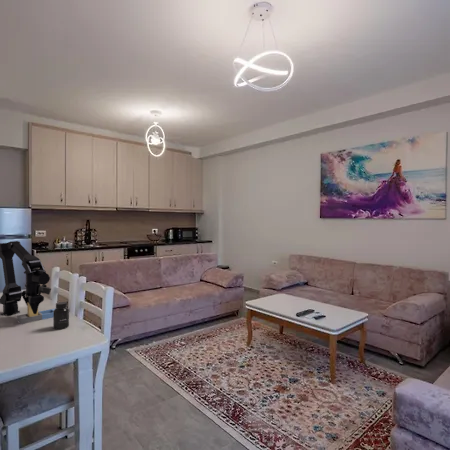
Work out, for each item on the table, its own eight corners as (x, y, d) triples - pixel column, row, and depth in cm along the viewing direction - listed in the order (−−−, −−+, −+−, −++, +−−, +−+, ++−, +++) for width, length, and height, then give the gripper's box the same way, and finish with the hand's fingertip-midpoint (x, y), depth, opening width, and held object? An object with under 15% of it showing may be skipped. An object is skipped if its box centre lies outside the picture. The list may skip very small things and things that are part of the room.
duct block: (20, 324, 156) (20, 319, 156) (17, 320, 162) (17, 315, 162) (62, 315, 170) (62, 310, 170) (57, 312, 176) (57, 307, 175)
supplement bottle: (62, 330, 148) (62, 305, 148) (50, 329, 150) (49, 304, 149) (72, 325, 155) (72, 301, 155) (60, 324, 156) (60, 300, 156)
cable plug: (29, 321, 161) (29, 303, 161) (27, 319, 164) (27, 302, 163) (38, 319, 164) (38, 302, 163) (36, 317, 166) (36, 300, 166)
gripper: (54, 283, 162) (55, 312, 163) (44, 277, 175) (44, 305, 176) (30, 286, 154) (30, 317, 155) (21, 280, 168) (21, 309, 168)
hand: (32, 311), depth 164 cm, fingers open, 9 cm apart
